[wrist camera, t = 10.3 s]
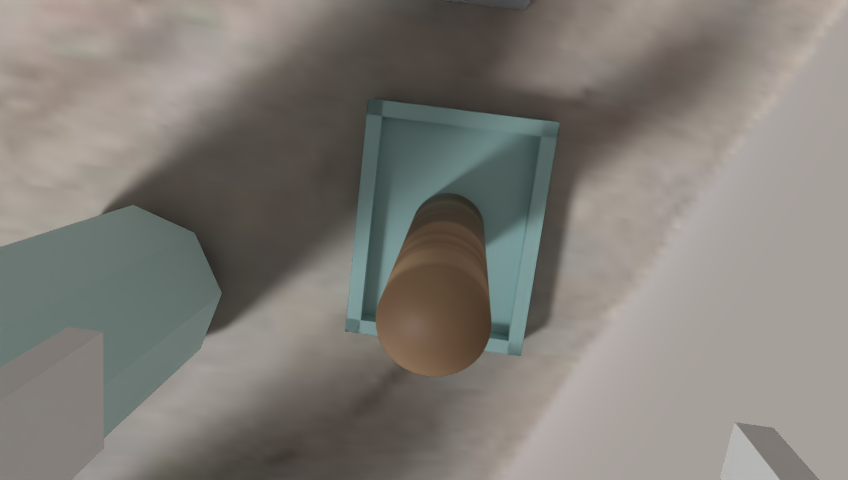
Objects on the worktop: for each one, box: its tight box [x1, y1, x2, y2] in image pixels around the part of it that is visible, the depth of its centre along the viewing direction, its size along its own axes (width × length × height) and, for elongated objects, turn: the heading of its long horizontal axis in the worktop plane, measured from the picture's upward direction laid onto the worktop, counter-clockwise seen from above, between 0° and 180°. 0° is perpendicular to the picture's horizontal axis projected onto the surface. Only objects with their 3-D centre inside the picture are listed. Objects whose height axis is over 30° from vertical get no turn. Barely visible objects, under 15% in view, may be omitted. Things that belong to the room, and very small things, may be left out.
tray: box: [345, 99, 560, 356], centre depth 36 cm, size 13×10×2 cm
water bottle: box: [0, 205, 222, 438], centre depth 27 cm, size 10×10×25 cm
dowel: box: [376, 193, 492, 376], centre depth 29 cm, size 4×4×14 cm
